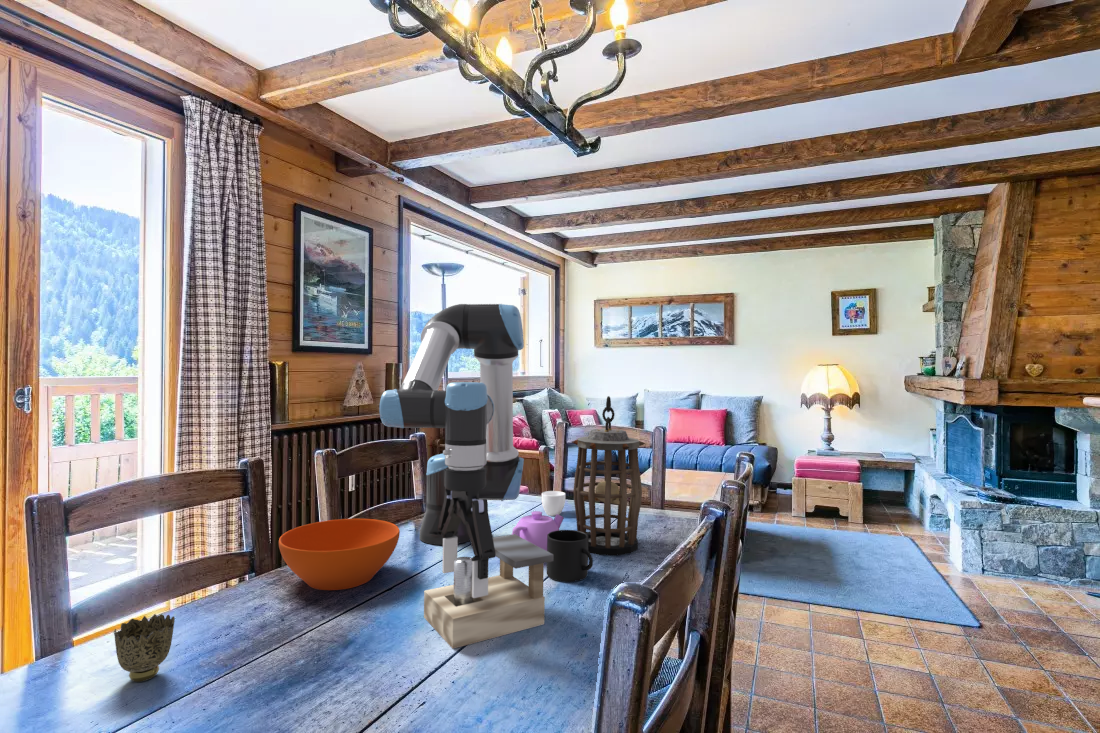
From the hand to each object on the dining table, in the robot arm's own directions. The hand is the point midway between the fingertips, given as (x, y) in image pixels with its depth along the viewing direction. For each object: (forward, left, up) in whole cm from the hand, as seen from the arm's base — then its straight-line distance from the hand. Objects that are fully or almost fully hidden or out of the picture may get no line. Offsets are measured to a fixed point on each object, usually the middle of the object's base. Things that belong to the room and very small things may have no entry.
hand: (464, 583), depth 104 cm
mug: (-11, +31, -8) cm, 34 cm away
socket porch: (0, +4, -8) cm, 9 cm away
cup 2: (-9, -48, -8) cm, 49 cm away
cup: (-60, +58, -8) cm, 83 cm away
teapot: (-29, +33, -8) cm, 44 cm away
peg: (0, 0, -8) cm, 8 cm away
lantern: (-25, +52, -8) cm, 58 cm away
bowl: (-36, -14, -8) cm, 39 cm away
